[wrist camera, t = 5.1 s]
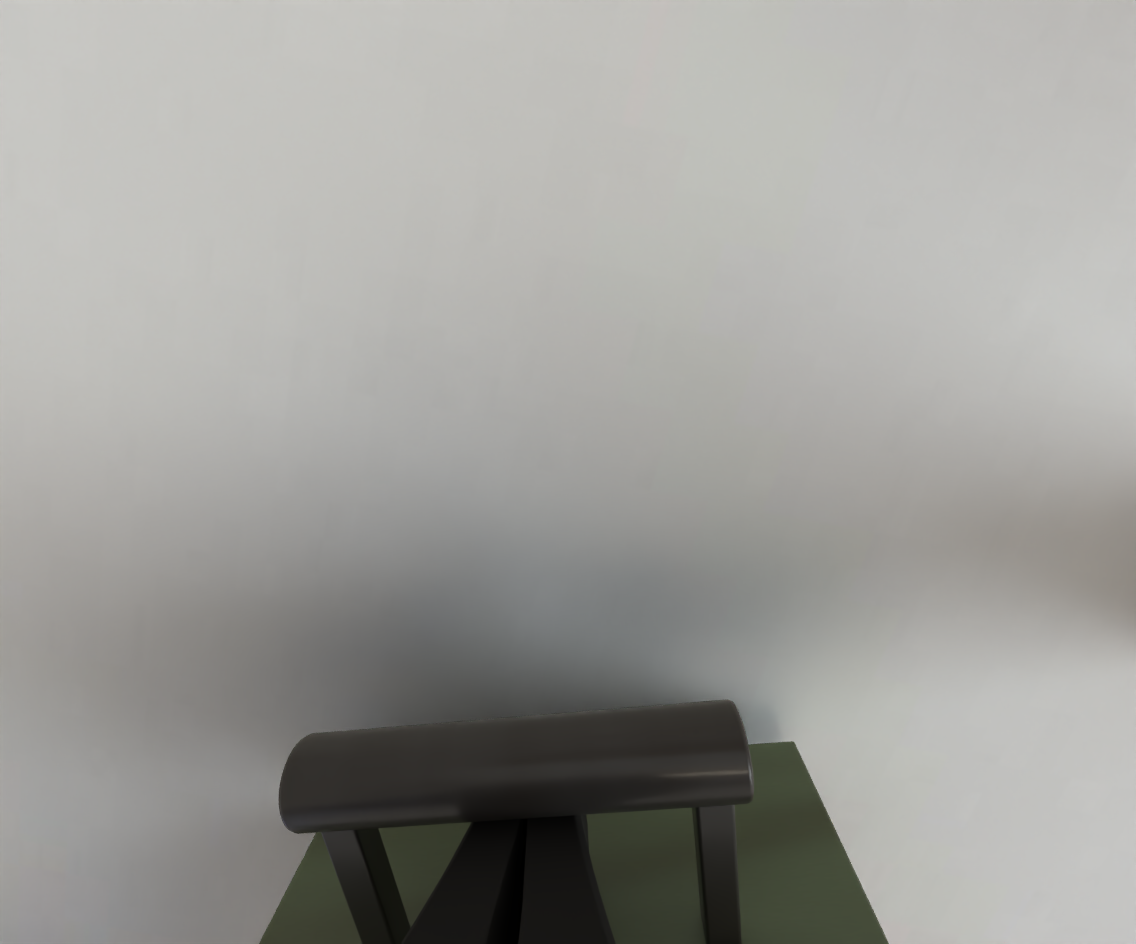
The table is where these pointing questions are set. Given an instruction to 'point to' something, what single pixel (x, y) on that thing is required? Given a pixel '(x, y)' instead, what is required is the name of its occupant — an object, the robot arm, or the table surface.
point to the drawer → (565, 788)
